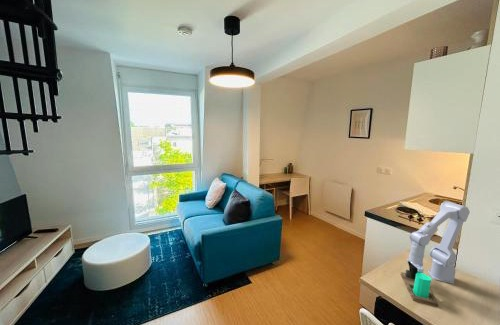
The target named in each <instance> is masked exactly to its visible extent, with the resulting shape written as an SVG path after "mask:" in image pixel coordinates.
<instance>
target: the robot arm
mask: <svg viewBox="0 0 500 325" xmlns="http://www.w3.org/2000/svg"><path fill="white" fill-rule="evenodd" d="M470 213H471V211H470V210H469V207H468V206H466V205H461V204H458V203H455V202H452V201H449V200H445V201H443V202H442V203H441V205H440V206H439V211H438V212H437V213H436V215H435V216H434V217H433V218H432V219H431V221H430V222H429V221H427V222H425V223H423V225H422V226H421V227H420V228H419V229H418V230H417V231H416V230H415V231H412V232H411V234H410V236H409V239H410V243H411V246H410V252H409V253H408V258H406V261H407V264H408V268H409V269H408V270H410V271H412V278H415V277H416V273H417V272H418V273H424V268H423V267H424V266H423V265H424V263H423V262H424V257H425V250H426V247H427V246H428V245H429V243H430V241H431V239H432V237H433V236H434V234H436V233H437V232H438V231H439V229H438V227H440V225H442V224H443V223H444V222H446V221H447V220H448V219H449V222H448V224H447V227H446V229H445V231H444V233H443V236H442V238H441V240H440V242H439V244H434V245H433V246H432V248H431V249H430V250H429V257H431V260H432V261H431V268H430V269H427V272H428V274H429V275H430V276H431V279H433V280H435V281H440V282H445V283H449V284H455V282H454V281H455V276H456V268H455V266H454V265H456V259H457V254H456V252H455V251H454V250H453V248H454V246H455V243H456V241H457V239H458V236H459V234H460V231H461V230H462V227H463V224H464V223H466V221H467V220H468V218H469V215H470Z"/></svg>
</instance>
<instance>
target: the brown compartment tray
mask: <svg viewBox="0 0 500 325" xmlns="http://www.w3.org/2000/svg"><path fill="white" fill-rule="evenodd" d="M400 276H401V278H402V281H403V283H404V285H405V287H406V289H407V291H408V294H409V295H410V297H411V299H412V301H413V302H418V303H422V304H426V305H430V306H432V307H433V306H434V307H437V308H438V307H439V302H438V300H437V299H436V298H435V295H434V294H433V293H432V291H431V289H430V290H429V295H428V297H430V298H423V297H419V296H416V295H415V294H414V293H413V289H414V283H415V278H412V271H410V270H409V269H405V272H403V271H402V272H400Z"/></svg>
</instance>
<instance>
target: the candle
mask: <svg viewBox="0 0 500 325" xmlns="http://www.w3.org/2000/svg"><path fill="white" fill-rule="evenodd" d="M431 284H432V277H430V276H429V275H427V274H425V273H424V272H423V273H418V272H417V273H416V277H415V283H414V288H412V292H413V294H414V295H415V296H419V297H423V298H427V299H429V290H430V291H431Z"/></svg>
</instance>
